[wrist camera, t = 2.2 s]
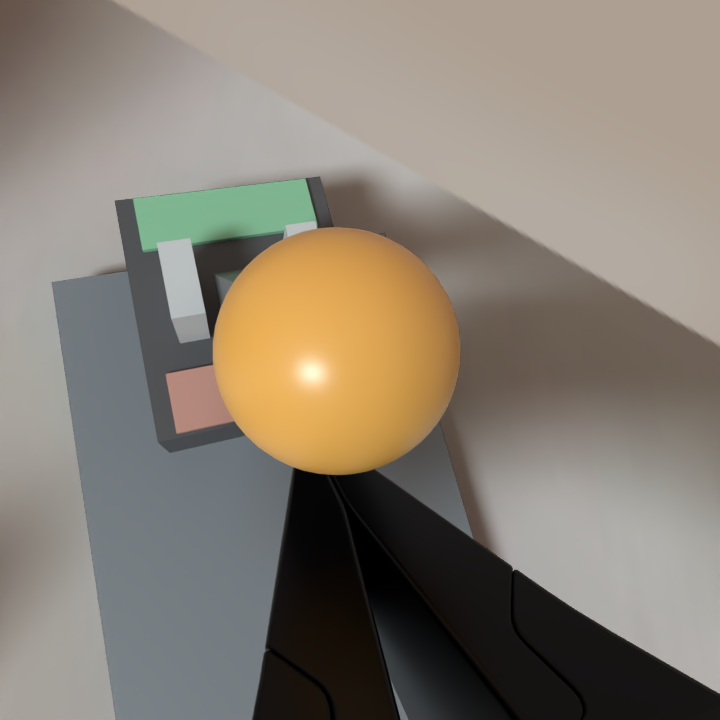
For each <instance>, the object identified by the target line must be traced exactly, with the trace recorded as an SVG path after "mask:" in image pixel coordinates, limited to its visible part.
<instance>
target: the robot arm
mask: <svg viewBox="0 0 720 720" xmlns="http://www.w3.org/2000/svg"><path fill="white" fill-rule="evenodd" d="M390 679H391V680H390ZM391 682H392V684H393V686H394V688H395V691H396V693H397V695H398V697H399V700H400V702H401V704H402V706H403V709H404V711H405V713H406V715H407V718H408V720H720V694H719V693H717V692H716V691H714V690H712V689H710V688H708V687H707V686H705V685H703V684H702V683H700V682H698V681H696V680H695V679H693V678H691V677H689V676H688V675H686V674H684V673H682V672H681V671H679V670H677V669H676V668H674V667H672V666H670V665H669V664H667V663H665V662H663V661H662V660H660V659H658V658H656V657H655V656H653V655H651V654H650V653H648V652H646V651H644V650H643V649H641V648H639V647H637V646H636V645H634V644H632V643H631V642H629V641H627V640H625V639H624V638H622V637H620V636H618V635H617V634H615V633H613V632H612V631H610V630H608V629H607V628H605V627H603V626H602V625H600V624H598V623H597V622H595V621H593V620H592V619H590V618H589V617H587V616H585V615H584V614H582V613H580V612H579V611H577V610H575V609H574V608H572V607H571V606H569V605H568V604H566V603H565V602H563V601H562V600H560V599H559V598H557V597H556V596H554V595H553V594H551V593H550V592H548V591H547V590H545V589H544V588H542V587H541V586H539V585H538V584H537V583H535V582H534V581H532V580H531V579H530V578H528V577H527V576H525V575H524V574H522V573H521V572H520V571H518V570H514V571H513V568H512V566H511V565H509V564H508V563H507V562H505V561H504V560H502V559H501V558H500V557H498V556H497V555H495V554H494V553H492V552H491V551H490V550H488V549H487V548H485V547H484V546H483V545H481V544H480V543H478V542H477V541H476V540H474V539H473V538H471V537H470V536H469V535H467V534H466V533H464V532H463V531H461V530H460V529H459V528H457V527H456V526H454V525H453V524H452V523H450V522H449V521H447V520H446V519H445V518H443V517H442V516H440V515H439V514H438V513H436V512H435V511H433V510H432V509H430V508H429V507H428V506H426V505H425V504H423V503H422V502H421V501H419V500H418V499H416V498H415V497H414V496H412V495H411V494H409V493H408V492H407V491H405V490H404V489H402V488H401V487H399V486H398V485H397V484H395V483H394V482H392V481H391V480H390V479H388V478H387V477H385V476H384V475H383V474H381V473H380V472H378V471H377V470H376V469H373V470H370V471H367V472H361V473H356V474H347V475H329V474H318V473H313V472H308V471H303V470H300V469H297V468H294V467H293V470H292V476H291V483H290V489H289V496H288V502H287V509H286V515H285V521H284V528H283V534H282V541H281V547H280V553H279V560H278V566H277V573H276V579H275V585H274V592H273V598H272V605H271V611H270V618H269V624H268V630H267V637H266V643H265V652H264V654H263V660H262V666H261V673H260V679H259V684H258V690H257V695H256V700H255V705H254V711H253V716H252V720H401V719H400V715H399V711H398V707H397V703H396V699H395V696H394V692H393V688H392V684H391Z"/></svg>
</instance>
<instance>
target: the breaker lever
mask: <svg viewBox="0 0 720 720" xmlns="http://www.w3.org/2000/svg"><path fill="white" fill-rule="evenodd" d="M213 275H214V280H215V285H216V290H217V295H218V300H219V305H220V311H219V314H218V318H217V321H216V325H215V331H214V338H213V365H214V373H215V378H216V382H217V385H218V389H219V392H220V394H221V397H222V399H223V401H224V404H225V406H226V408H227V410H228V411H229V413H230V415H231V416H232V418H233V419H234V421H235V423H236V424H237V425H238V427H239V428H240V429H241V430H242V432H243V433H244V434H245V435H246V436H247V437H248V438H249V439H250V440H251V441H252V442H253V443H254V444H255V445H256V446H257V447H259V448H260V449H262V450H263V451H264V452H266V453H267V454H269V455H270V456H272V457H273V458H275V459H277V460H279V461H281V462H283V463H285V464H287V465H289V466H291V467H294V468H297V469H300V470H303V471H308V472H313V473H318V474H329V475H347V474H356V473H361V472H367V471H370V470H373V469H376V468H379V467H382V466H384V465H386V464H388V463H390V462H393V461H395V460H397V459H398V458H400V457H402V456H403V455H405V454H406V453H408V452H409V451H411V450H412V449H413V448H414V447H416V446H417V445H418V444H419V443H421V442H422V441H423V440H424V439H425V437H426V436H427V435H428V434H429V433H430V432H431V431H432V430H433V428H434V427H435V426H436V425H437V423H438V422H439V421H440V419H441V417H442V416H443V414H444V412H445V411H446V409H447V407H448V405H449V402H450V400H451V398H452V396H453V393H454V390H455V386H456V383H457V379H458V374H459V369H460V355H461V350H460V334H459V329H458V323H457V319H456V316H455V313H454V309H453V307H452V304H451V302H450V300H449V298H448V295H447V293H446V292H445V290H444V289H443V287H442V285H441V284H440V282H439V281H438V279H437V278H436V276H435V275H434V274H433V273H432V271H431V270H430V269H429V268H428V267H427V265H425V264H424V263H423V262H422V261H421V260H420V259H419V258H418V257H417V256H416V255H415V254H413V253H412V252H410V251H409V250H407V249H406V248H405V247H403V246H402V245H400V244H398V243H396V242H394V241H392V240H390V239H388V238H386V237H384V236H381V235H379V234H376V233H373V232H370V231H365V230H361V229H356V228H343V227H329V228H317V229H313V230H308V231H303V232H300V233H297V234H295V235H292V236H289V237H286V238H285V239H283V240H281V241H279V242H277V243H275V244H273V245H271V246H270V247H269V248H267V249H266V250H264V251H263V252H262V253H260V254H259V255H258V256H257V257H256V258H254V259H253V260H252V261H251V262H250V263H249V264H248V265H247V266H246V267H245V268H244V269H241V270H234V271H228V272H221V273H215V274H213Z"/></svg>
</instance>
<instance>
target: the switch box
mask: <svg viewBox="0 0 720 720" xmlns="http://www.w3.org/2000/svg"><path fill="white" fill-rule="evenodd" d="M115 205H116V211H117V216H118V222H119V227H120V233H121V239H122V244H123V250H124V255H125V261H126V267H127V271H124V272H118V273H111V274H104V275H97V276H90V277H84V278H77V279H70V280H63V281H57V282H52V287H53V294H54V301H55V308H56V315H57V322H58V328H59V335H60V342H61V349H62V356H63V363H64V369H65V376H66V383H67V390H68V397H69V404H70V410H71V417H72V424H73V431H74V438H75V445H76V451H77V458H78V465H79V472H80V479H81V486H82V492H83V499H84V506H85V513H86V520H87V527H88V533H89V540H90V547H91V554H92V561H93V568H94V574H95V581H96V588H97V595H98V602H99V609H100V615H101V622H102V629H103V636H104V643H105V650H106V656H107V663H108V670H109V677H110V684H111V691H112V697H113V704H114V711H115V718H116V720H252V716H253V711H254V705H255V700H256V695H257V690H258V684H259V679H260V673H261V666H262V660H263V654H264V652H265V643H266V637H267V630H268V624H269V618H270V611H271V605H272V598H273V592H274V585H275V579H276V573H277V566H278V560H279V553H280V547H281V541H282V534H283V528H284V521H285V515H286V509H287V502H288V496H289V489H290V483H291V476H292V470H293V467H291V466H289V465H287V464H285V463H283V462H281V461H279V460H277V459H275V458H273V457H272V456H270V455H269V454H267V453H266V452H264V451H263V450H262V449H260V448H259V447H257V446H256V445H255V444H254V443H253V442H252V441H251V440H250V439H249V438H248V437H247V436H246V435H245V434H244V433H243V432H242V430H241V429H240V428H239V427H238V425H237V424H236V423H235V421H234V419H233V418H232V416H231V415H230V413H229V411H228V410H227V408H226V406H225V404H224V401H223V399H222V397H221V394H220V392H219V389H218V385H217V382H216V378H215V373H214V365H213V338H214V331H215V325H216V321H217V318H218V314H219V311H220V305H219V300H218V295H217V290H216V285H215V280H214V275H213V274H215V273H221V272H228V271H234V270H241V269H244V268H245V267H246V266H247V265H248V264H249V263H250V262H251V261H252V260H253V259H254V258H256V257H257V256H258V255H259V254H260V253H262V252H263V251H264V250H266V249H267V248H269V247H270V246H271V245H273V244H275V243H277V242H279V241H281V240H283V239H285V238H286V237H289V236H292V235H295V234H297V233H300V232H303V231H308V230H313V229H317V228H329V227H333V224H332V220H331V216H330V213H329V209H328V205H327V201H326V198H325V194H324V190H323V187H322V183H321V179H320V177H313V178H305V179H296V180H288V181H279V182H270V183H262V184H253V185H245V186H236V187H228V188H219V189H211V190H202V191H194V192H185V193H177V194H168V195H160V196H151V197H143V198H134V199H125V200H117V201H115ZM379 235H381V236H384V237H386V235H385V233H382V234H379ZM376 470H377V471H378V472H380V473H381V474H383V475H384V476H385V477H387V478H388V479H390V480H391V481H392V482H394V483H395V484H397V485H398V486H399V487H401V488H402V489H404V490H405V491H407V492H408V493H409V494H411V495H412V496H414V497H415V498H416V499H418V500H419V501H421V502H422V503H423V504H425V505H426V506H428V507H429V508H430V509H432V510H433V511H435V512H436V513H438V514H439V515H440V516H442V517H443V518H445V519H446V520H447V521H449V522H450V523H452V524H453V525H454V526H456V527H457V528H459V529H460V530H461V531H463V532H464V533H466V534H467V535H469V536H470V537H471V538H473V536H472V532H471V529H470V525H469V522H468V519H467V515H466V512H465V508H464V505H463V501H462V498H461V494H460V491H459V487H458V484H457V481H456V477H455V474H454V470H453V467H452V463H451V460H450V456H449V453H448V449H447V446H446V443H445V439H444V436H443V432H442V429H441V425H440V422H438V423H437V425H436V426H435V427H434V428H433V430H432V431H431V432H430V433H429V434H428V435H427V436H426V437H425V439H424V440H423V441H422V442H421V443H419V444H418V445H417V446H416V447H414V448H413V449H412V450H411V451H409V452H408V453H406V454H405V455H403V456H402V457H400V458H398V459H397V460H395V461H393V462H390V463H388V464H386V465H384V466H382V467H379V468H376ZM390 680H391V679H390ZM391 684H392V682H391ZM392 688H393V692H394V696H395V699H396V703H397V707H398V711H399V715H400V719H401V720H408V718H407V715H406V713H405V711H404V709H403V706H402V704H401V702H400V700H399V697H398V695H397V693H396V691H395V688H394V686H393V684H392Z"/></svg>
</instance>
